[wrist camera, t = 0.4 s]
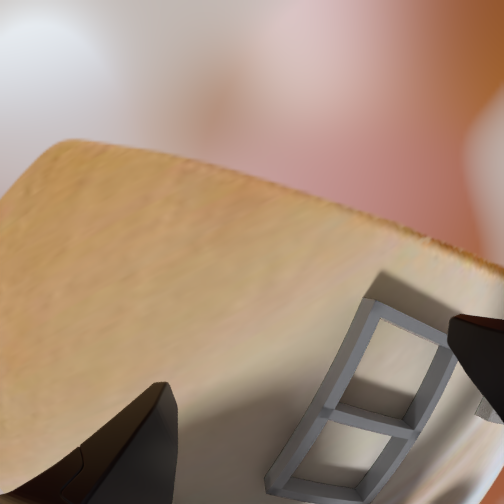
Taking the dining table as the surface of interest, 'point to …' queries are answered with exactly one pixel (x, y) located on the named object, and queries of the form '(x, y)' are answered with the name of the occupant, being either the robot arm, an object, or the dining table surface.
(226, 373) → the dining table surface
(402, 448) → the rack
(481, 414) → the socket
